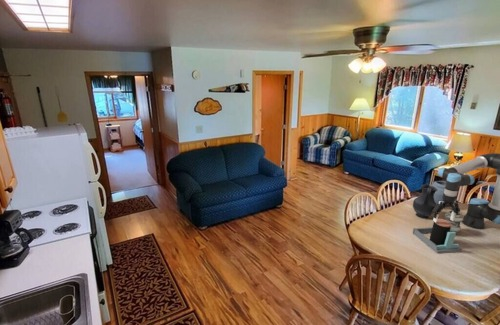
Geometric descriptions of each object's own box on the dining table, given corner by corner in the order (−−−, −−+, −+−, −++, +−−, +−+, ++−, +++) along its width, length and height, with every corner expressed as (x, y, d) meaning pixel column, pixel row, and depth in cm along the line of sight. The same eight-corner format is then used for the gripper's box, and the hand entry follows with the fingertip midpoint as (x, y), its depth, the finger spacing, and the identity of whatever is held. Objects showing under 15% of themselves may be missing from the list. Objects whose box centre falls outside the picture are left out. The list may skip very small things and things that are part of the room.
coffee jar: (448, 248, 197) (454, 226, 191) (432, 246, 199) (438, 225, 193) (441, 239, 207) (447, 219, 201) (426, 238, 209) (431, 217, 203)
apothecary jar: (439, 232, 216) (444, 212, 210) (442, 226, 224) (447, 207, 218) (458, 238, 208) (463, 218, 202) (460, 232, 216) (465, 212, 211)
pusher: (456, 248, 196) (461, 231, 191) (458, 250, 194) (463, 232, 189) (435, 250, 194) (440, 232, 189) (437, 251, 192) (442, 233, 188)
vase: (430, 210, 251) (436, 186, 243) (421, 201, 269) (426, 178, 261) (453, 212, 248) (460, 187, 240) (443, 202, 266) (449, 179, 258)
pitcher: (433, 214, 243) (440, 184, 234) (433, 225, 226) (441, 192, 217) (411, 209, 252) (417, 180, 242) (410, 219, 235) (416, 188, 226)
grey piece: (435, 231, 217) (436, 227, 215) (461, 251, 193) (463, 246, 192) (412, 233, 215) (413, 228, 213) (436, 253, 191) (438, 248, 190)
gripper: (461, 191, 195) (454, 217, 201) (429, 193, 192) (423, 219, 199) (470, 195, 188) (463, 222, 194) (437, 198, 185) (431, 224, 192)
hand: (443, 220), depth 197 cm, fingers open, 13 cm apart
